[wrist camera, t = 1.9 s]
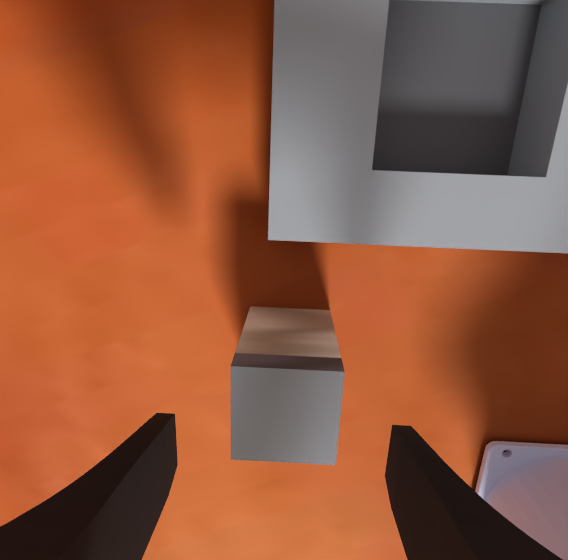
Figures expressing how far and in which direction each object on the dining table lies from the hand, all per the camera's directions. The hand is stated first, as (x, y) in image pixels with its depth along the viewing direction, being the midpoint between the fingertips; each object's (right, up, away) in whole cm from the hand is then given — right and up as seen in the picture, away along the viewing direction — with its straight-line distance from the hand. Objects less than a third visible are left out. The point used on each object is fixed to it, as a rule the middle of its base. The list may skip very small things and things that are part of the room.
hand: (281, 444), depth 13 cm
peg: (0, +2, +7) cm, 8 cm away
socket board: (+7, +13, +3) cm, 15 cm away
